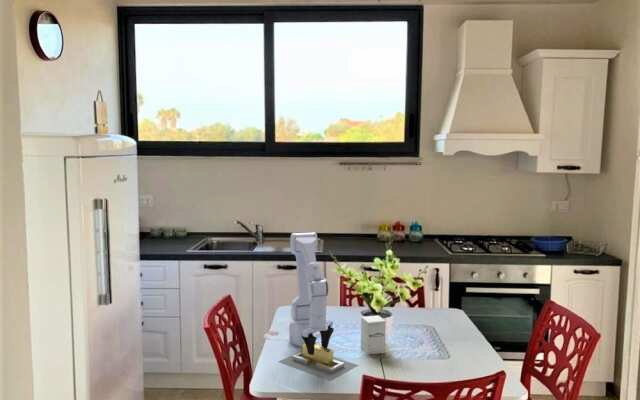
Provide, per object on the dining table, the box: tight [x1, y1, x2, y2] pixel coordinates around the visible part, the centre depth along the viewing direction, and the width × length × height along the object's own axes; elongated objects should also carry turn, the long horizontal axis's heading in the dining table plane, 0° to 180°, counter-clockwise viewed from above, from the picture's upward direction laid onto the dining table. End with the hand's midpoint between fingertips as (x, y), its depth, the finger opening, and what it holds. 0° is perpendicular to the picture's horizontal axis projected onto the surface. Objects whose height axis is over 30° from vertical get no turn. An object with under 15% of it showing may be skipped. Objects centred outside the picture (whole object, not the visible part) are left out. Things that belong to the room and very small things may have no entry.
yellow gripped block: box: [302, 343, 334, 367], centre depth 183 cm, size 12×3×6 cm, turn 50°
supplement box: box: [360, 315, 387, 355], centre depth 195 cm, size 7×7×13 cm
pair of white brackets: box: [293, 350, 344, 374], centre depth 183 cm, size 18×7×2 cm, turn 50°
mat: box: [277, 350, 359, 382], centre depth 183 cm, size 24×16×1 cm, turn 50°
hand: (317, 350), depth 183 cm, fingers open, 7 cm apart
